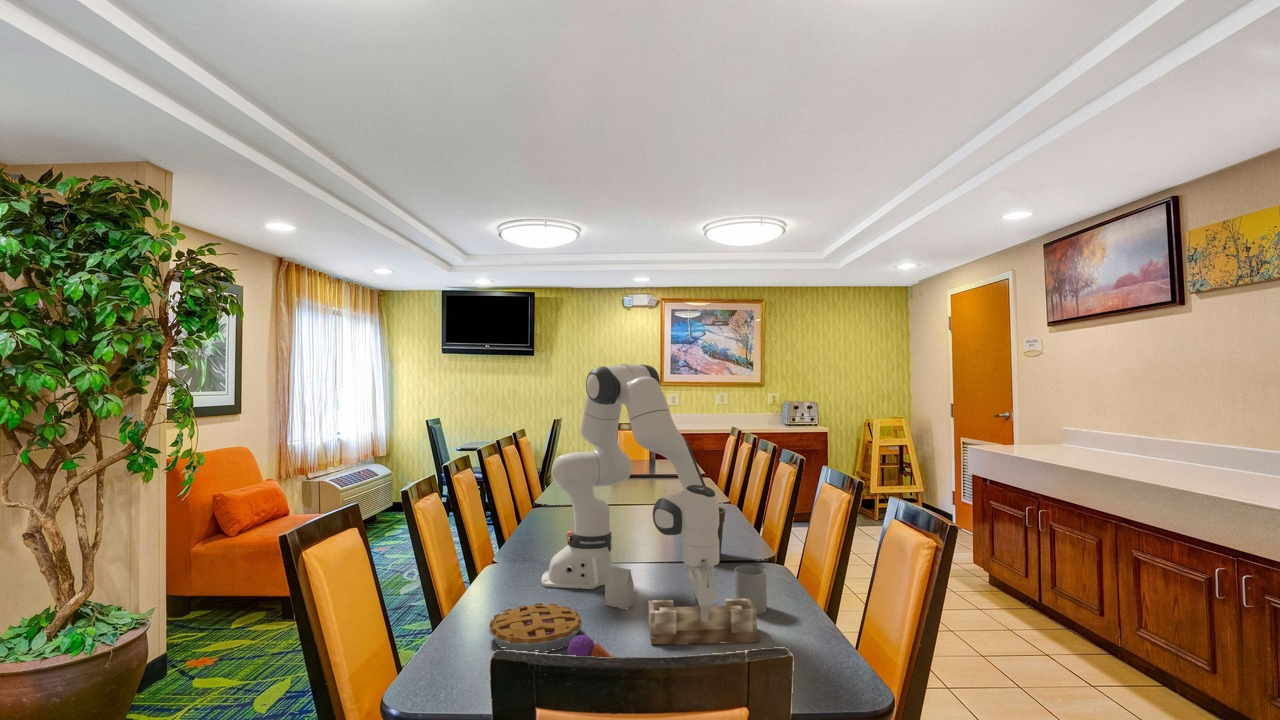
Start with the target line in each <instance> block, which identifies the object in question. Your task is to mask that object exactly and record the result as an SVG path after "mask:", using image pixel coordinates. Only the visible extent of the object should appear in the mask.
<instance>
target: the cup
mask: <svg viewBox="0 0 1280 720" xmlns="http://www.w3.org/2000/svg"><path fill="white" fill-rule="evenodd" d="M767 596H768V595H767V570H766V569H765V568H763V567H760V566H757V565H740V566H736V567H735V568H734V599H750V601H751V602H752V604H753V605H754V607H755V609H756V610H757V615H760V614H763V613H766V611H767V604H768V603H767V601H768V600H767V599H768V598H767Z"/></svg>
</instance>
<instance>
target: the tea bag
mask: <svg viewBox="0 0 1280 720" xmlns="http://www.w3.org/2000/svg"><path fill="white" fill-rule="evenodd" d="M631 571H632V570H631V569H628V568H623V567H617V566H614V565H612V566H608V573H607V577H606V581H605V585H604V605H605V606H606V605H609V606H608V607H611V606H614V607H613V608H615V607H618V608H617V609H620V608H624V609H623V610H625V609H627V608H629V607H630V608H632V607H633V606H634V580H633V577H632V573H631ZM632 605H633V606H632ZM631 606H632V607H631ZM630 608H629V609H630ZM627 610H628V609H627Z"/></svg>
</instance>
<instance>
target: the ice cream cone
mask: <svg viewBox="0 0 1280 720" xmlns="http://www.w3.org/2000/svg"><path fill="white" fill-rule="evenodd" d="M566 653H567V656H568V655H576V656H595V657H617V656H616V655H615V656H614V655H611V654H610V653H608V651H606V649H605V648H603V647H602V646H601V645H600V643H595V642H594V639H592V638H591V637H590V636H588V635H585V634H577V635H576V637H575V638H573V639H572V640H571V641H570V643H569V645H568V647H567V651H566Z"/></svg>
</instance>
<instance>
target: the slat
mask: <svg viewBox="0 0 1280 720" xmlns="http://www.w3.org/2000/svg"><path fill="white" fill-rule="evenodd" d="M730 609H742V607H741V606H740V605H731V606H725V605H715V606H714V607H710V610H709V620H708V621H707V622H702V621H701V619H700V612H701V607H700V606H696V605H695V606H673V607H661V608H659V611H665V610H676V631H682V630H713V629H731V610H730Z"/></svg>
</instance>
